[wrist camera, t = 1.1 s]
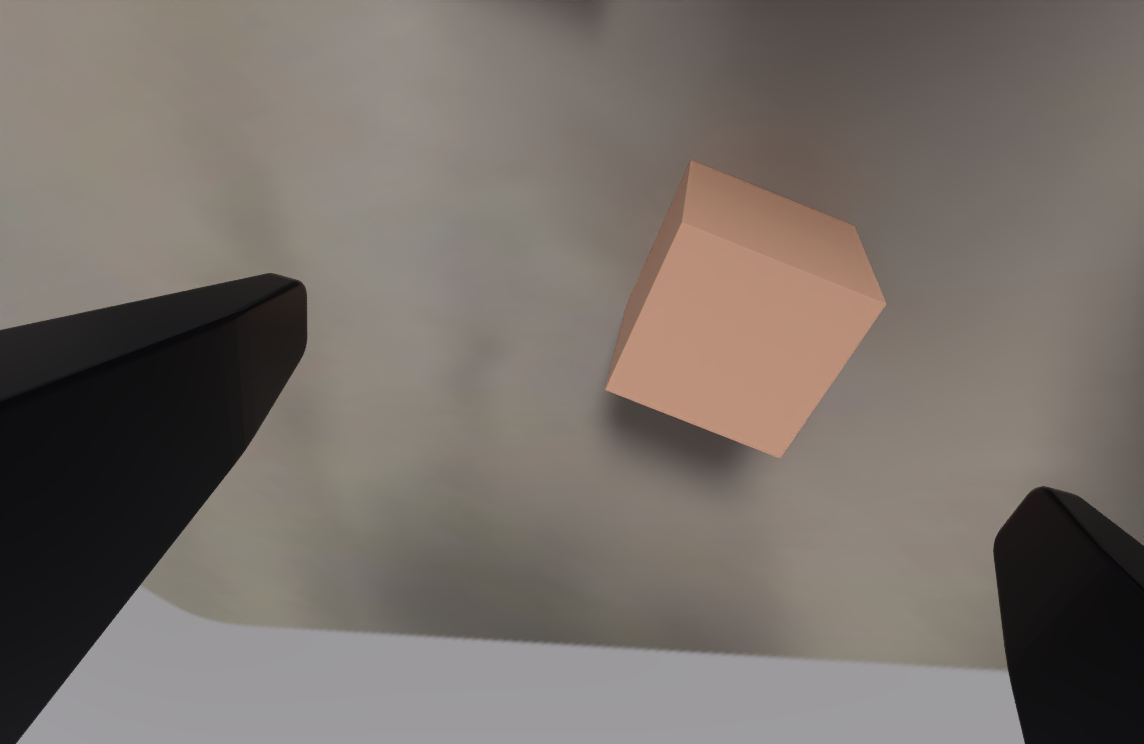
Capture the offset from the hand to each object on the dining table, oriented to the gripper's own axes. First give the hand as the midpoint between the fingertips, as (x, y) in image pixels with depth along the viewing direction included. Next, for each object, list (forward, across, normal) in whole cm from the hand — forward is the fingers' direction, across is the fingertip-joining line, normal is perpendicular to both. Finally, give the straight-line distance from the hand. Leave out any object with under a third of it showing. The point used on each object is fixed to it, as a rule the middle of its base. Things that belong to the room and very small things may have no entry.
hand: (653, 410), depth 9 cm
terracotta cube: (+13, -2, +4) cm, 14 cm away
